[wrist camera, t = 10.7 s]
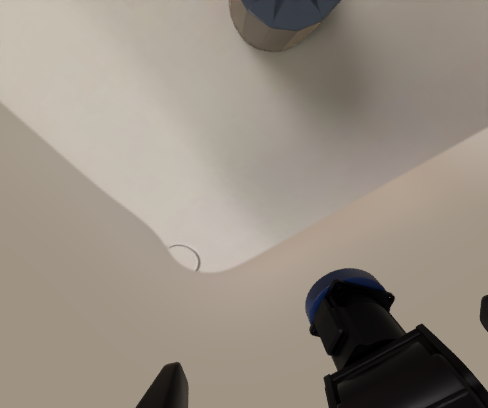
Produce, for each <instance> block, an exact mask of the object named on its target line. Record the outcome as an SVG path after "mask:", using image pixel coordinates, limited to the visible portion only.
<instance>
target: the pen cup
mask: <svg viewBox="0 0 488 408" xmlns="http://www.w3.org/2000/svg"><path fill="white" fill-rule="evenodd" d="M340 1H341V0H229V10H230V15H231V18H232V21H233V24H234V26H235V28H236V29H237V31H238V33H239V34H240V35H241V37H242V38H243V39H244V40H245V41H246V42H247V43H249V44H250V45H252V46H253V47H255V48H257V49H259V50H262V51H267V52H279V51H284V50H287V49H289V48H291V47H293V46H295V45H297V44H298V43H300V42H301V41H302V40H303V39H304V38H305V37H306V36H307V35H308V34H309V33H310V32H312V31H313V30H314V29H315V28H316V27H317V26H318V25H319V24H320V23H321V22H322V21H323V20H324V19H325V18H326V17H327V16H328V15H329V14H330V13H331V11H332V10H333V9H334V8H335V7H336V6H337V5H338V4H339V3H340Z"/></svg>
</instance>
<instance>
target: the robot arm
mask: <svg viewBox="0 0 488 408" xmlns="http://www.w3.org/2000/svg"><path fill="white" fill-rule="evenodd" d="M336 284H339V285H337V286H336ZM389 297H390V298H389ZM394 300H395V296H394V295H393V294H392V293H390V292H387V291H383V290H379V289H375V288H371V287H367V286H363V285H360V284H356V283H352V282H348V281H344V280H340V279H335V280H333V281H332V283H331V285H330V287H329V289H328V291H327V293H326V295H325V297H324V298H323V299H322V301H321V303H320V305H319V307H318V309H317V311H316V313H315V316H314V318H313V321H312V324H311V326H310V328H309V331H310V334H311V335H312V336H316V337H320V338H321V340H322V342H323V345H324V348H325V350H326V352H327V354H328V355H330V356H332V359H333V361H334V363H335V366H336V368H337V372H335V373H333V374H332V375H330V374H328V375H327V376H325V377H324V382H325V391H326V396H327V401H328V406H329V408H488V392H487V390H486V389H485V388H484V387H483V385H482V384H481V383H480V382H479V380H478V379H477V378H476V377H475V376H474V374H473V373H472V372H471V371H470V370H469V369H468V368H467V367H466V365H465V364H464V363H463V362H462V361H461V360H460V359H459V358H458V357H457V356H456V355H455V354H454V353H453V352H452V351H451V350H450V349H448V348H447V347H446V346H445V345H444V344H443V343H442V342H441V341H440V340H439V339H438V338H437V337H436V336H435V335H434V334H433V333H432V332H431V331H429V330H428V329H427V328H426V327H425V326H424V325H423V324H420V325H418V326H417V327H416V329H414V330H412V331H410V332H408V333H406V332H405V331H404V330H403V329H402V327H401V326H400V325H399V324H398V322H397V321H396V320H395V319H394V317H393V316H392V315H391V314H390V312H389V309H390V307H391V306H392V304H393V302H394ZM480 321H481V323H482V325H483V326H484V328H485V329H486V330H487V332H488V295H486V296H484V297H483V298H482V300H481V309H480ZM314 330H315V331H314ZM136 408H188V382H187V379H186V376H185V374H184V371H183V369H182V366H181V364H180V363H179V362H175V363H170V364H167V365H165V366H164V367H163V368H162V370H161V372H160V373H159V374H158V376H157V377H156V379H155V380H154V382H153V383H152V385H151V386H150V388H149V389H148V390H147V392H146V393H145V395H144V396H143V398H142V399H141V401H140V402H139V403H138V405H137V406H136Z"/></svg>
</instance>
